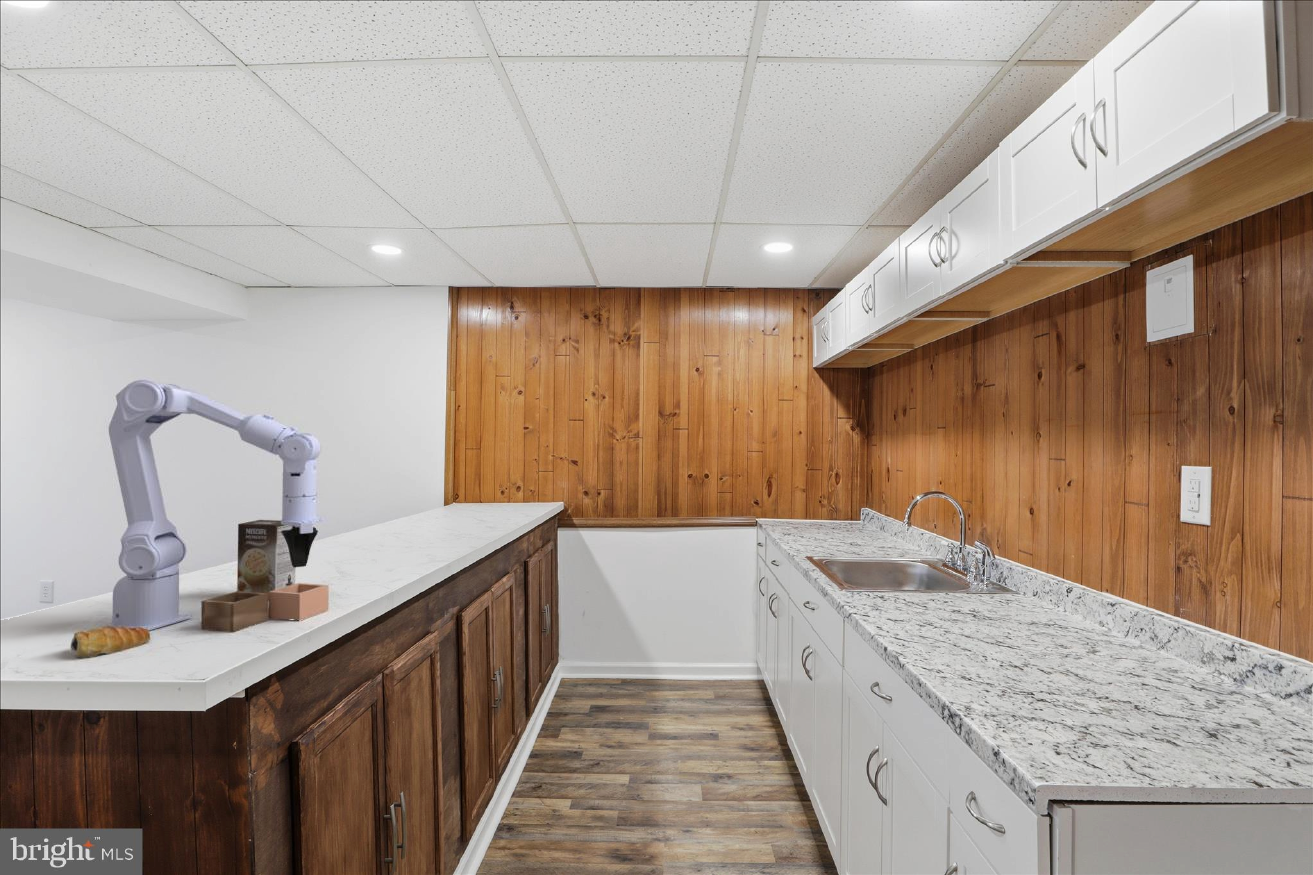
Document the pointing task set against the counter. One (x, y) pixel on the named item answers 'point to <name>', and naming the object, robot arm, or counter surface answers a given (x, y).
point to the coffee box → (263, 557)
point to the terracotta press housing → (298, 601)
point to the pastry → (107, 640)
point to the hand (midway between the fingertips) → (299, 566)
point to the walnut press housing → (234, 611)
